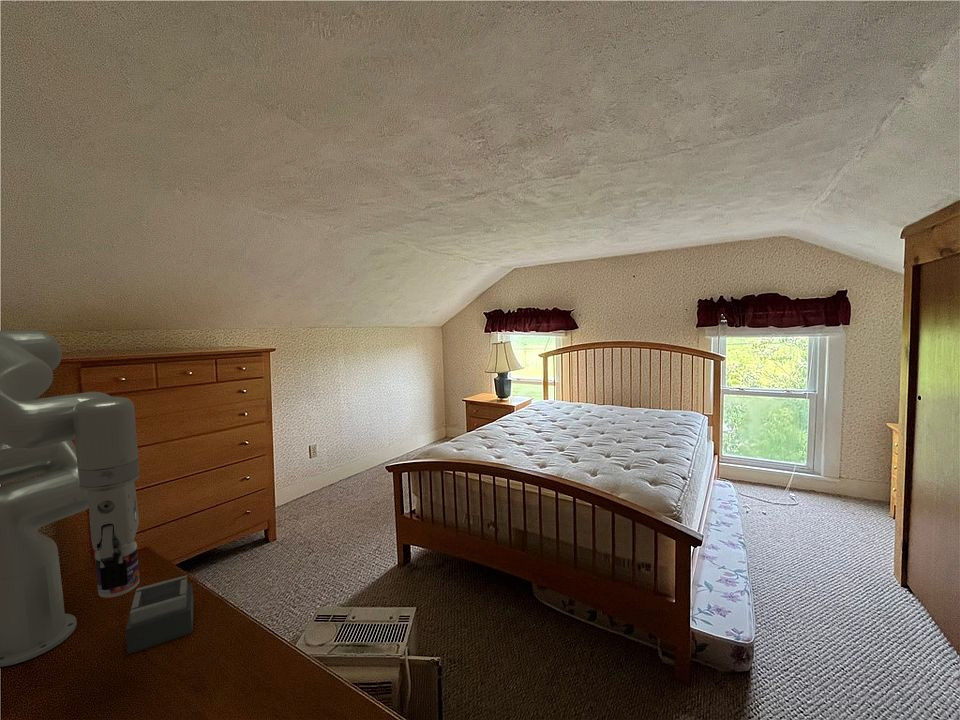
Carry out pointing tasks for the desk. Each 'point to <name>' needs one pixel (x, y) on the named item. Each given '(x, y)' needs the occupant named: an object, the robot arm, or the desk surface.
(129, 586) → the pill bottle
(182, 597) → the grey open box
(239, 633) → the desk surface
